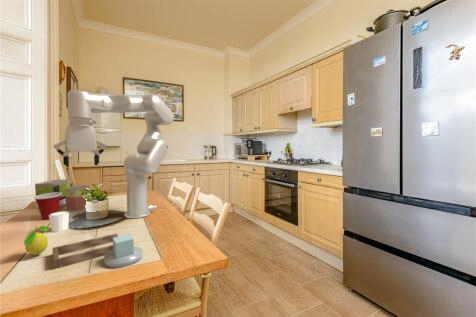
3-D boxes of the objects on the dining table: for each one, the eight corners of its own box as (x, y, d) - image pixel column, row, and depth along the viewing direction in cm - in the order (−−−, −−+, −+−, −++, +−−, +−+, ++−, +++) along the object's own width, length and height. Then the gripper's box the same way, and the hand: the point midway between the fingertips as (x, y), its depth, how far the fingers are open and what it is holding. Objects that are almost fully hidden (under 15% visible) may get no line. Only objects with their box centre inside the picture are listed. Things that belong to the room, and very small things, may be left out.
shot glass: (58, 233, 94) (57, 216, 94) (45, 231, 95) (44, 215, 95) (73, 227, 101) (73, 211, 100) (60, 226, 102) (60, 210, 102)
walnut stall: (116, 239, 88) (116, 233, 88) (124, 249, 79) (124, 242, 79) (52, 255, 75) (52, 247, 75) (54, 269, 67) (53, 260, 67)
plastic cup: (29, 220, 110) (28, 195, 109) (54, 213, 120) (53, 191, 119) (43, 223, 106) (42, 197, 105) (68, 216, 116) (67, 193, 115)
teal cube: (129, 248, 77) (129, 234, 77) (133, 254, 73) (133, 238, 73) (113, 253, 74) (112, 237, 74) (116, 259, 70) (116, 243, 70)
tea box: (54, 202, 144) (53, 179, 143) (71, 202, 145) (70, 179, 144) (35, 209, 129) (34, 183, 128) (54, 208, 130) (53, 182, 129)
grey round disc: (136, 247, 81) (136, 243, 81) (147, 259, 73) (147, 255, 73) (100, 257, 74) (100, 253, 74) (108, 272, 66) (108, 267, 65)
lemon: (48, 248, 80) (47, 220, 79) (52, 254, 76) (51, 224, 76) (22, 255, 75) (20, 226, 74) (25, 261, 71) (23, 230, 70)
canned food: (82, 204, 139) (81, 185, 138) (93, 207, 134) (93, 186, 133) (61, 209, 129) (60, 188, 128) (73, 212, 124) (72, 190, 123)
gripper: (103, 124, 99) (104, 164, 100) (51, 122, 87) (53, 166, 88) (107, 123, 93) (108, 165, 95) (53, 120, 82) (55, 168, 83)
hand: (82, 165), depth 92 cm, fingers open, 9 cm apart
